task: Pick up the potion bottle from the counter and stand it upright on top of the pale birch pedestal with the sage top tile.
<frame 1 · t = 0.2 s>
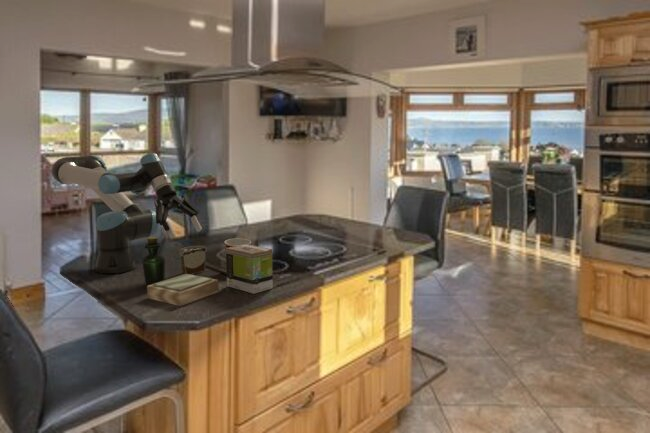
hand: (186, 233, 220), 16 cm above the counter, tool tilted 35°, fingers open, 13 cm apart
tea box: (249, 288, 201), on the counter
food container: (190, 272, 222), on the counter
plastic cup: (238, 269, 225), on the counter
pedestal base: (183, 295, 192), on the counter
potion bottle: (155, 285, 204), on the counter
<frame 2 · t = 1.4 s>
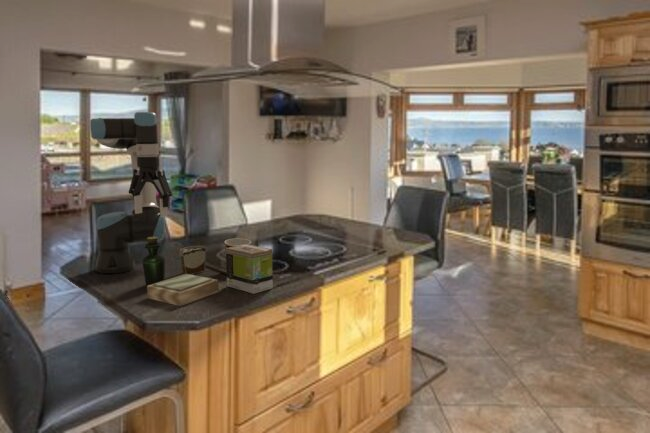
hand: (151, 214, 200), 27 cm above the counter, tool pointing down, fingers open, 13 cm apart
nothing on the counter moved.
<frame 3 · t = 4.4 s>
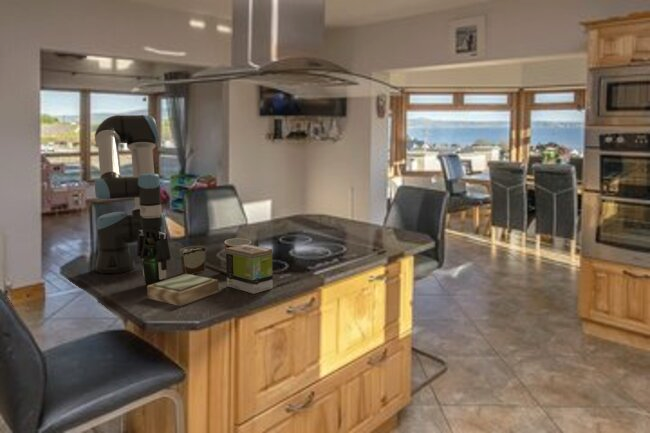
hand: (154, 276, 204), 3 cm above the counter, tool pointing down, fingers closed on potion bottle, 8 cm apart
potion bottle: (155, 285, 204), on the counter, touching gripper
everything else where it was.
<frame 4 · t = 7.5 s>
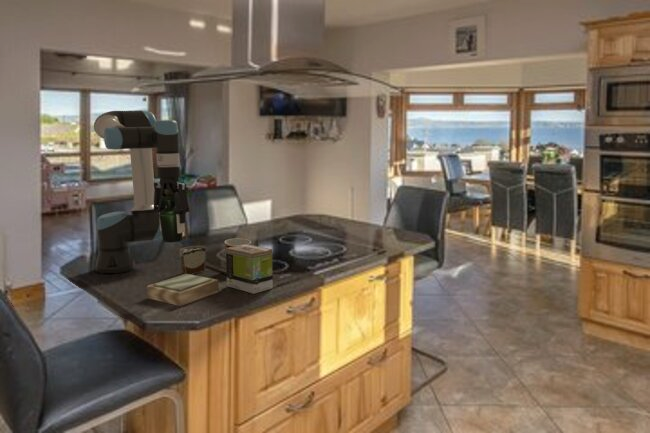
hand: (172, 231, 191), 22 cm above the counter, tool pointing down, fingers closed on potion bottle, 8 cm apart
potion bottle: (172, 241, 192), point 19 cm above the counter, touching gripper
everything else where it was.
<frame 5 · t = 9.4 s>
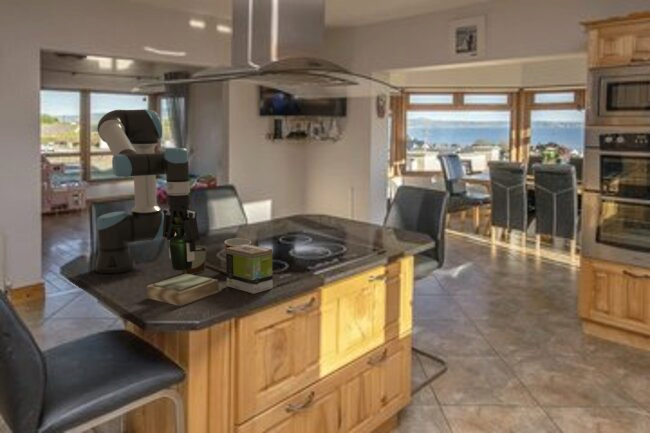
hand: (182, 259, 190), 13 cm above the counter, tool pointing down, fingers closed on potion bottle, 8 cm apart
potion bottle: (182, 268, 190), point 10 cm above the counter, touching gripper
everything else where it was.
when the fingers open (10 cm above the counter, at t = 10.9 s): potion bottle drops 1 cm, resting on pedestal base.
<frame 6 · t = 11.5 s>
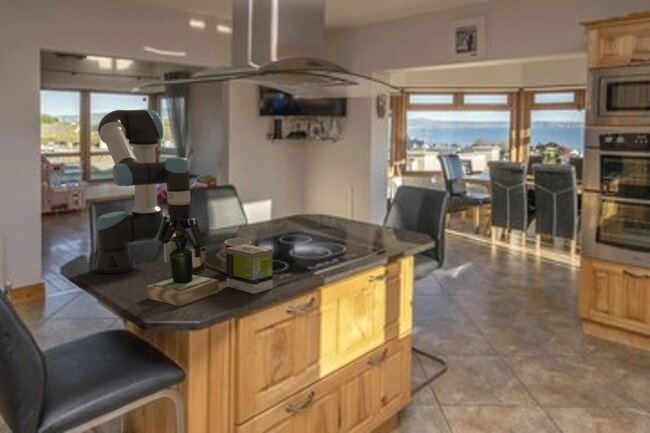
hand: (182, 263, 190), 11 cm above the counter, tool pointing down, fingers open, 13 cm apart
potion bottle: (182, 281, 191), point 5 cm above the counter, touching pedestal base
everything else where it was.
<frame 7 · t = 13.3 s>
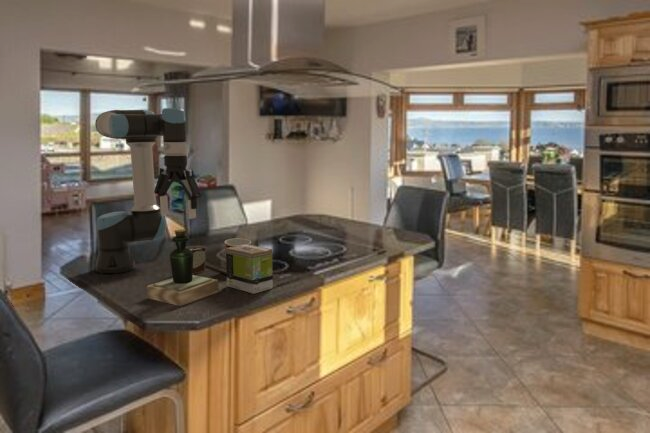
hand: (178, 216, 190), 28 cm above the counter, tool pointing down, fingers open, 13 cm apart
nothing on the counter moved.
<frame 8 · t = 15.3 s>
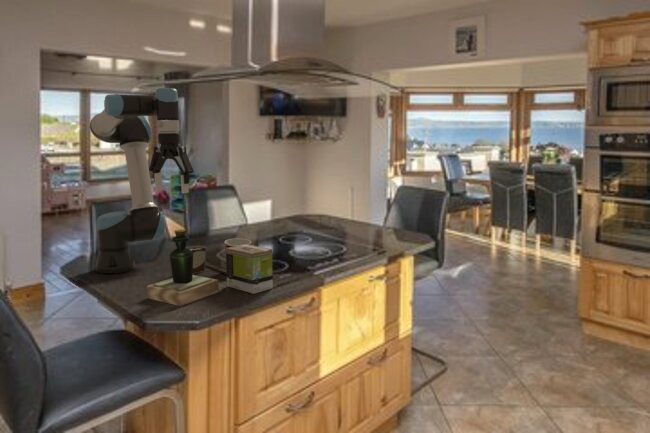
hand: (171, 191, 199), 35 cm above the counter, tool pointing down, fingers open, 13 cm apart
nothing on the counter moved.
at the end: potion bottle inside the target area on the pedestal base (0.1 cm from its centre), point 4.8 cm above the pedestal base's base; potion bottle tilted 0°; the gripper is holding nothing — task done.
